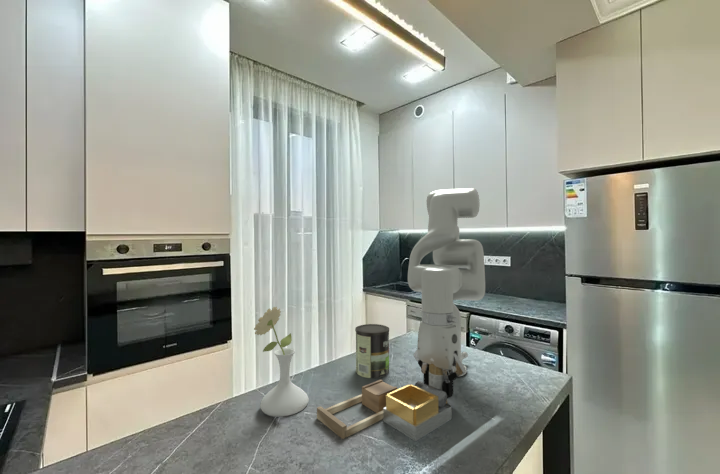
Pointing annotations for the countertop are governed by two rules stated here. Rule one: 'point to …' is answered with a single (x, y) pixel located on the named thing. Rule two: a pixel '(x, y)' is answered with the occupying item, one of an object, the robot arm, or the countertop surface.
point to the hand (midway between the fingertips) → (438, 392)
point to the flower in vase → (285, 393)
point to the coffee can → (372, 350)
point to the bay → (339, 426)
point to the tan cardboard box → (376, 395)
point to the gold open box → (416, 409)
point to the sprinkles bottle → (435, 376)
